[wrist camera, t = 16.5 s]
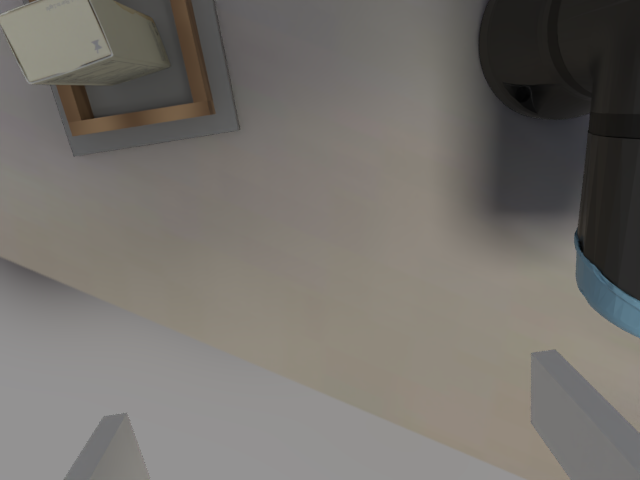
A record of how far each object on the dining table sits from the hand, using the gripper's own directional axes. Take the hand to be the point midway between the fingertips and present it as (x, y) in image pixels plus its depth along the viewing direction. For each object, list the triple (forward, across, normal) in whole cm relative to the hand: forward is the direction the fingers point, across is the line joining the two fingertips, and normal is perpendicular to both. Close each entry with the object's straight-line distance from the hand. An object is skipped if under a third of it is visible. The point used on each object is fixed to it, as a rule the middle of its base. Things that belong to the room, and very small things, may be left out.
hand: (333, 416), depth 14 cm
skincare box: (+31, -14, +16) cm, 38 cm away
